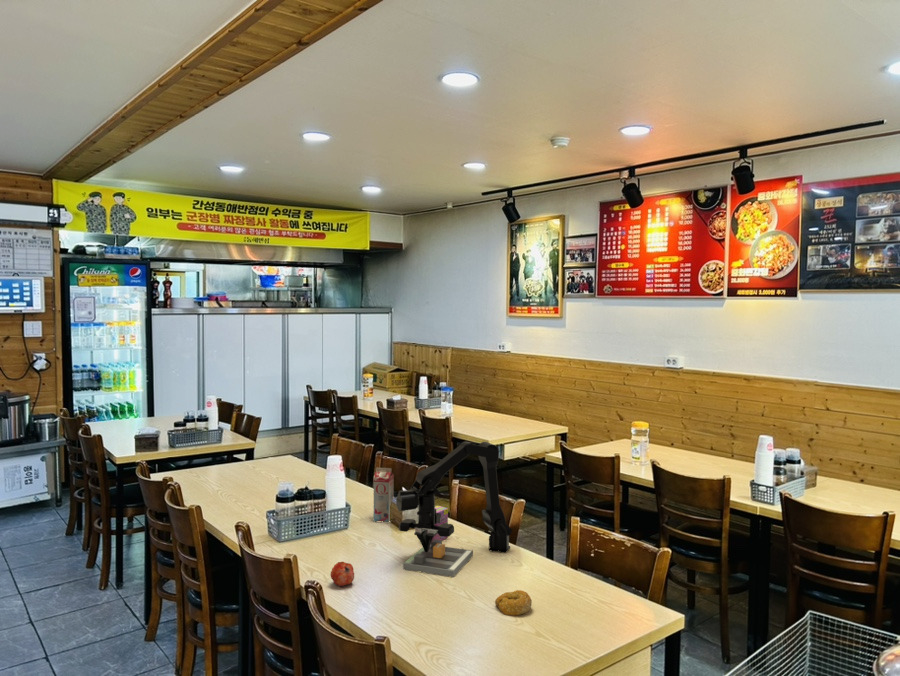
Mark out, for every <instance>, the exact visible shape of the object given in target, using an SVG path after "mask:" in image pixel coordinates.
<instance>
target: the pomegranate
mask: <svg viewBox="0 0 900 676" xmlns="http://www.w3.org/2000/svg"><path fill="white" fill-rule="evenodd" d="M330 578H331V579H332V581H333V584H334V585H335V586H339V587H345V586H347V585H351V584H352V583H353V581H354V580H355V572H354V567H353V565H352V564H351V563H349V562H345V561H339V562H337V563H336V564H334V566H333V567H332V569H331V571H330Z"/></svg>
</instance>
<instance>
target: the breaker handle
mask: <svg viewBox="0 0 900 676" xmlns="http://www.w3.org/2000/svg"><path fill="white" fill-rule="evenodd" d="M445 547H446V544H445V543H442V544H439V543H437V544H436V545H435V546H434V547H433V557H436V558H442V557H443V556H444V555H445Z"/></svg>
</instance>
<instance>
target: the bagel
mask: <svg viewBox="0 0 900 676" xmlns="http://www.w3.org/2000/svg"><path fill="white" fill-rule="evenodd" d="M494 603H495V606H496V607H498V608H499V610H500V612H501V613H503V614H504V615H505V616H514V617H515V616H521V615H524V614H526V613H528V612H529V611H530V609H531V607H532V605H533V604H532V598H531V596H530V595H529V594H528V592H527V591H524V590H517V589H516V590H515V591H508V592H504V593H502V594H501V595H499V596H497V598H496V599H495V600H494Z"/></svg>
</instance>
